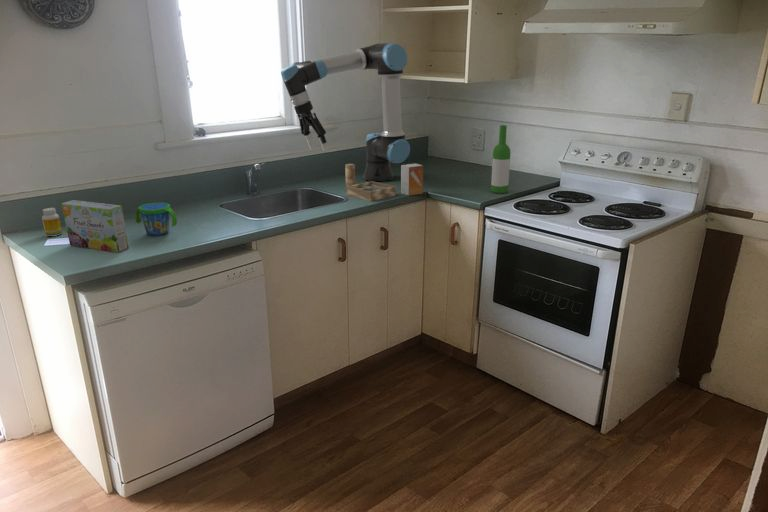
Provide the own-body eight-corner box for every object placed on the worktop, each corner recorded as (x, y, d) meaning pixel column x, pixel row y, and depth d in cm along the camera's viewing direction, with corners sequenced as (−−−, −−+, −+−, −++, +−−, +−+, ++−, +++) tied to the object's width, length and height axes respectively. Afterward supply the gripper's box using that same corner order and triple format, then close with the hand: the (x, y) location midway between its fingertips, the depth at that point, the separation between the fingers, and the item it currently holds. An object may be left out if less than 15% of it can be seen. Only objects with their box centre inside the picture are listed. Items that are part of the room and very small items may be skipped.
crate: (371, 189, 277) (371, 181, 276) (396, 195, 266) (396, 186, 265) (346, 195, 266) (346, 186, 265) (370, 201, 256) (370, 192, 254)
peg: (351, 188, 279) (350, 163, 275) (357, 190, 276) (356, 164, 272) (343, 190, 276) (343, 164, 272) (350, 191, 273) (349, 166, 269)
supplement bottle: (43, 235, 211) (38, 209, 208) (59, 232, 215) (54, 206, 212) (48, 238, 208) (43, 211, 204) (64, 235, 211) (59, 209, 208)
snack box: (68, 246, 199) (60, 203, 194) (81, 241, 204) (73, 199, 199) (117, 253, 192) (110, 208, 187) (130, 248, 197) (123, 204, 192)
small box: (408, 196, 264) (408, 167, 260) (400, 193, 269) (400, 165, 265) (423, 193, 268) (423, 165, 264) (414, 191, 274) (415, 163, 269)
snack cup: (185, 231, 214) (182, 204, 211) (165, 239, 205) (161, 211, 202) (151, 227, 220) (147, 200, 216) (130, 235, 211) (125, 207, 207)
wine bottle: (511, 192, 269) (515, 126, 259) (496, 194, 266) (500, 126, 256) (501, 189, 276) (505, 124, 266) (487, 190, 273) (491, 125, 263)
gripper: (283, 106, 260) (301, 151, 268) (306, 106, 239) (325, 154, 248) (297, 100, 263) (314, 144, 271) (321, 99, 242) (339, 147, 250)
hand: (319, 149), depth 259 cm, fingers open, 13 cm apart
